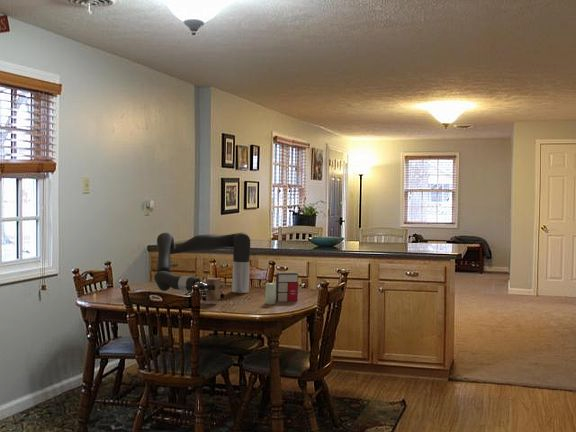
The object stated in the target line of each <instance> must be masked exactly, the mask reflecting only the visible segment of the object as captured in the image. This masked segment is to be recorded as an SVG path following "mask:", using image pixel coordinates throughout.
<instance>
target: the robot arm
mask: <svg viewBox="0 0 576 432" xmlns="http://www.w3.org/2000/svg"><path fill="white" fill-rule="evenodd" d="M156 246H157V252H158V256H157V265H156V266H157V267H156V272H155V274H154V276H153V277H154V278H153V279H154V282H155V283H156V285H157V287H158V289H159V290H160V291H162V292H165V291H169V290H170V288H172V290H179V291H184V292H189V293H190V292H191V293H193V292H192V286H194V285H198V286H200V290H199V291H206V290H215V286H213V285H207V281H205V280H202V281H201V278H199V276H198V277H196V276H188V275H185V276H184V275H176V274H174V273H172V272H171V270H172V269H171V268H172V267H171V266H172V263H171V262H172V260H171V255H174V254H175V255H177V254H181V253H191V252H192V253H193V252H209V251H210V252H211V251H216V250H220V249H226V248H229V249H230V248H231V249H233V250H232V252H233V253H232V285H231V286H232V288H231V291H232V293H236V294H247V293H249V292H250V291H249V289H250V262H251V261H250V258H251V238H250V236H249V235H248V234H247V233H246V232H241V231H240V232H236V233H229V234H214V233H213V234H210V233H209V234H207V233H206V234H196V235H195V236H192V237H191V238H190V239H188V240H186V241H184V242H180V243H175V239H174V235H173V234H171V233H169V232H162V233H160V234H159V235H158V236H157V238H156ZM222 286H223V285H222V284H221V288H220V289H221V290H222V288H223V287H222Z"/></svg>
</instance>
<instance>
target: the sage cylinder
mask: <svg viewBox="0 0 576 432" xmlns="http://www.w3.org/2000/svg"><path fill="white" fill-rule="evenodd" d="M264 295H265V296H264V299H265V300H264V303H265V305H269V306H271V305H275V304H276V283H275V282H266V283H265V293H264Z"/></svg>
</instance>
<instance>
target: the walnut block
mask: <svg viewBox="0 0 576 432" xmlns="http://www.w3.org/2000/svg"><path fill="white" fill-rule="evenodd" d="M206 282H207V285H213V286H215V290H205V291H206V292H205V293H206V294H205V299H206V300H210V301H211V300H212V301H216V300H220V299H221V290H222V287H221V285H222V284H221V283H222V278H220V277H219V278H218V277H209V278H206ZM220 288H221V289H220Z"/></svg>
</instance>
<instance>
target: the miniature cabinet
mask: <svg viewBox="0 0 576 432" xmlns="http://www.w3.org/2000/svg"><path fill="white" fill-rule="evenodd" d="M275 276H276V277H275V281H276V283H275V284H276V290H275V302H297V301H298V300H299V299H298V296H299V293H298V291H299V273H297V272H276V274H275Z"/></svg>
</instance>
